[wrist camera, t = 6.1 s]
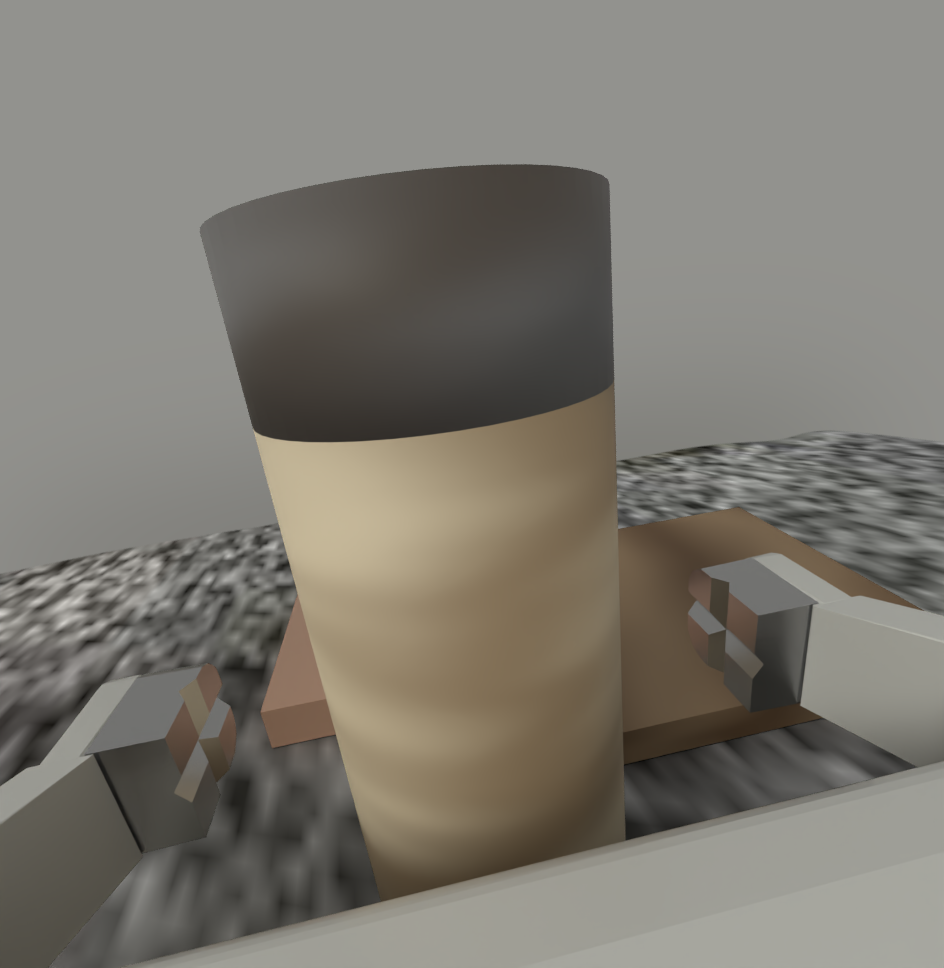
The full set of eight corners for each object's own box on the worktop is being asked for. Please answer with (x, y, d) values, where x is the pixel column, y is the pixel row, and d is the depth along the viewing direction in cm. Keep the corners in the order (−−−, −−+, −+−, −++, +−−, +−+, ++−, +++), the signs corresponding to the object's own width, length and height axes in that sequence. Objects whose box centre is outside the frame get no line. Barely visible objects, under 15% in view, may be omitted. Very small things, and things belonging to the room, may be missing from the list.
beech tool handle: (418, 1171, 8) (108, 200, 4) (407, 884, 12) (257, 259, 8) (673, 1091, 9) (699, 141, 4) (582, 841, 13) (541, 227, 8)
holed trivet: (271, 748, 17) (260, 712, 16) (310, 602, 25) (303, 575, 25) (536, 691, 18) (532, 656, 17) (488, 569, 26) (485, 543, 26)
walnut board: (619, 765, 15) (618, 733, 14) (518, 568, 26) (516, 547, 26) (983, 680, 16) (991, 648, 16) (737, 527, 27) (738, 507, 27)
